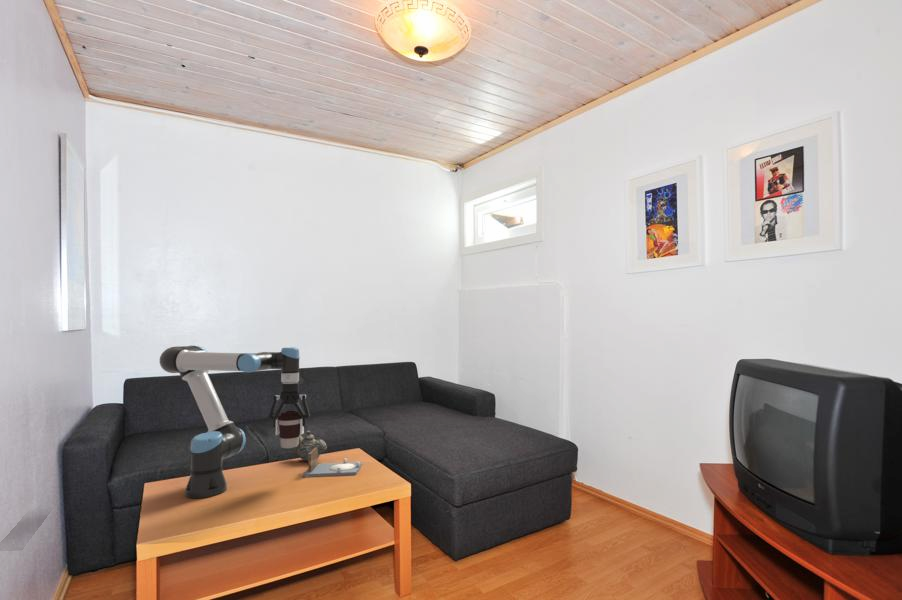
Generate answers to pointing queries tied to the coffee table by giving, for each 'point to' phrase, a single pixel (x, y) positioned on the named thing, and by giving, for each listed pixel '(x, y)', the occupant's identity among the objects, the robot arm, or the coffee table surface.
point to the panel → (312, 459)
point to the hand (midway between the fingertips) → (289, 434)
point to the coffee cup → (289, 428)
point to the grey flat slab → (334, 469)
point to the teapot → (309, 446)
